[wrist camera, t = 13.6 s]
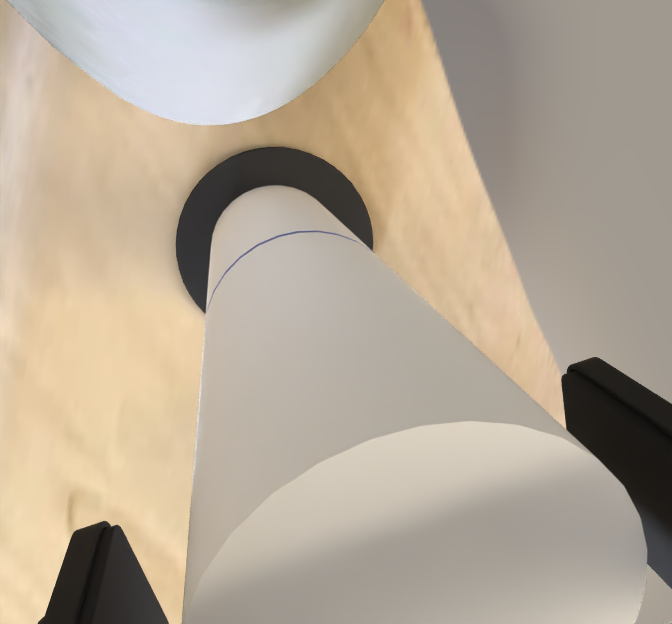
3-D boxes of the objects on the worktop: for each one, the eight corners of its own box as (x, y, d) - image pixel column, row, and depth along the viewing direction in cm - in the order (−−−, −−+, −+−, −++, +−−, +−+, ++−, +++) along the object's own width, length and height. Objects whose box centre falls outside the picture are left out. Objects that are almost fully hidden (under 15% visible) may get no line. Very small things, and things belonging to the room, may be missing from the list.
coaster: (203, 355, 33) (203, 359, 33) (152, 167, 29) (151, 168, 29) (382, 316, 35) (384, 319, 34) (356, 130, 31) (358, 130, 30)
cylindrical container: (333, 178, 31) (673, 379, 8) (344, 300, 33) (625, 734, 10) (200, 193, 30) (127, 480, 7) (222, 319, 32) (223, 849, 9)
